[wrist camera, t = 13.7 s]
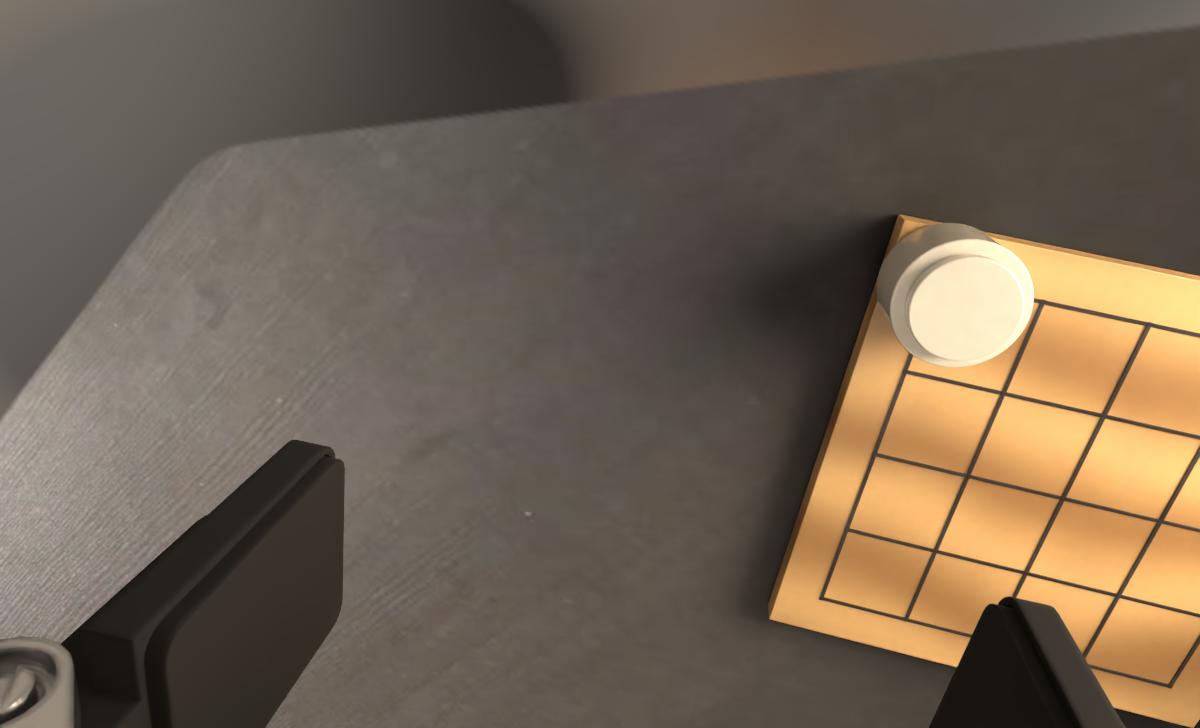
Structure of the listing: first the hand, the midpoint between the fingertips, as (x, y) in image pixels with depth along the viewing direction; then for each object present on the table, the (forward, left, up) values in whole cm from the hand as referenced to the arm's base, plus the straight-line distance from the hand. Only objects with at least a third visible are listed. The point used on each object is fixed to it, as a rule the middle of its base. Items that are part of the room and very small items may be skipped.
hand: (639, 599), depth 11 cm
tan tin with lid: (-1, +9, -22) cm, 24 cm away
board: (+7, +17, -23) cm, 30 cm away
